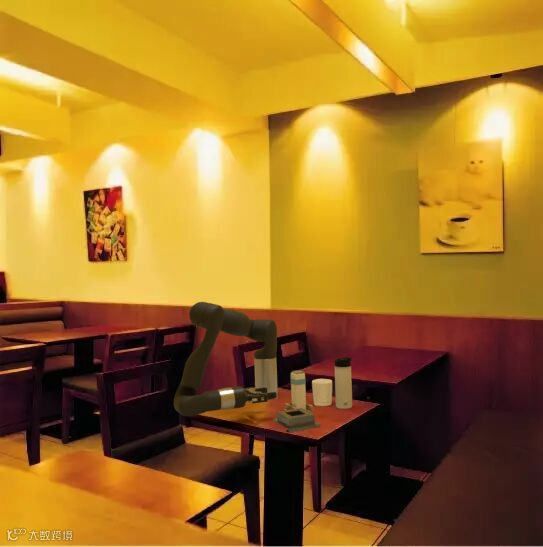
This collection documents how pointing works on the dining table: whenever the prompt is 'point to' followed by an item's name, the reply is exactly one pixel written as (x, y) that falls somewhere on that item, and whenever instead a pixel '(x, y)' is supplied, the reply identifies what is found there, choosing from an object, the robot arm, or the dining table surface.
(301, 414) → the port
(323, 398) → the white cup
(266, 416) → the dining table surface
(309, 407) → the wooden square tray
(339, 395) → the travel mug
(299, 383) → the plug
